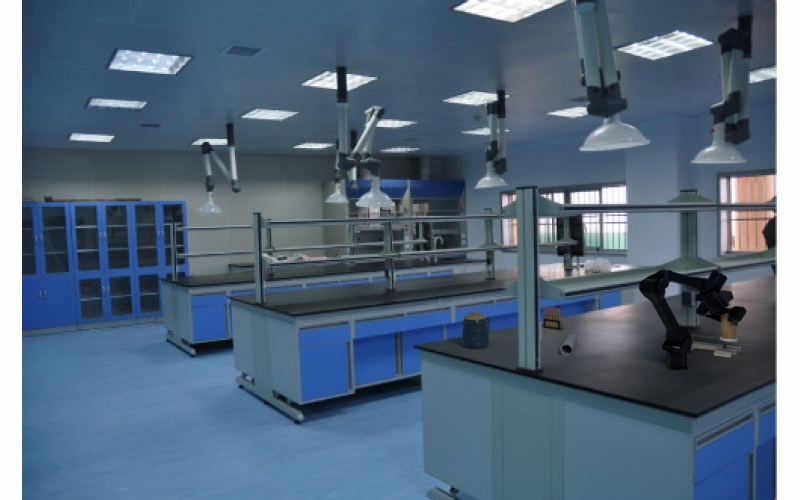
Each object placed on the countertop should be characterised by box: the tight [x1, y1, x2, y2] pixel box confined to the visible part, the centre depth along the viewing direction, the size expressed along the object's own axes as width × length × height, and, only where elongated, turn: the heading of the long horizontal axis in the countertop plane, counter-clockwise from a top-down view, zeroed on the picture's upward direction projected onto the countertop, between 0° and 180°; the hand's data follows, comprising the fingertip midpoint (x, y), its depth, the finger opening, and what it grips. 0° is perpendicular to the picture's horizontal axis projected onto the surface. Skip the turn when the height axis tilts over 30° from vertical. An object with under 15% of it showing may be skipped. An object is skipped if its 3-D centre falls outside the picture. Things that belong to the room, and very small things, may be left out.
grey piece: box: [673, 333, 742, 358], centre depth 230 cm, size 14×22×6 cm, turn 42°
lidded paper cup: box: [719, 314, 739, 343], centre depth 218 cm, size 6×6×12 cm
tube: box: [559, 333, 578, 356], centre depth 246 cm, size 5×5×25 cm
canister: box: [461, 309, 490, 350], centre depth 259 cm, size 13×13×18 cm
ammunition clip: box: [542, 305, 563, 331], centre depth 289 cm, size 11×2×12 cm, turn 41°
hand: (730, 323), depth 219 cm, fingers closed on lidded paper cup, 5 cm apart
